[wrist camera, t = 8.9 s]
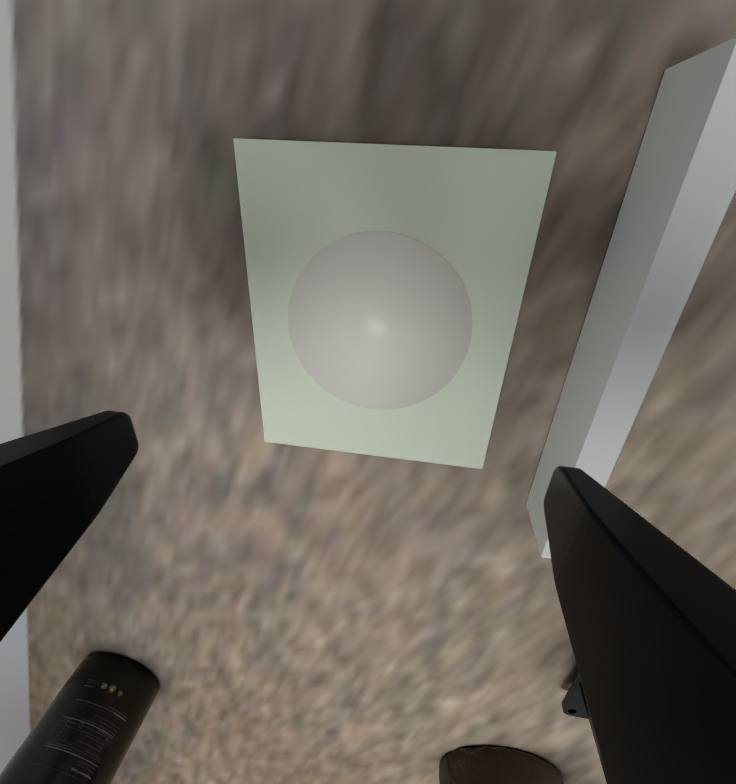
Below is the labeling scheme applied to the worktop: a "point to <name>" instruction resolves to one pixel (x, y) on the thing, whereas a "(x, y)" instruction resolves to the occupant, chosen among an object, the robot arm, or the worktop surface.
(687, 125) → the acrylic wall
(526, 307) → the worktop surface
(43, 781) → the supplement bottle
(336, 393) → the pad
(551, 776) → the pillar candle
